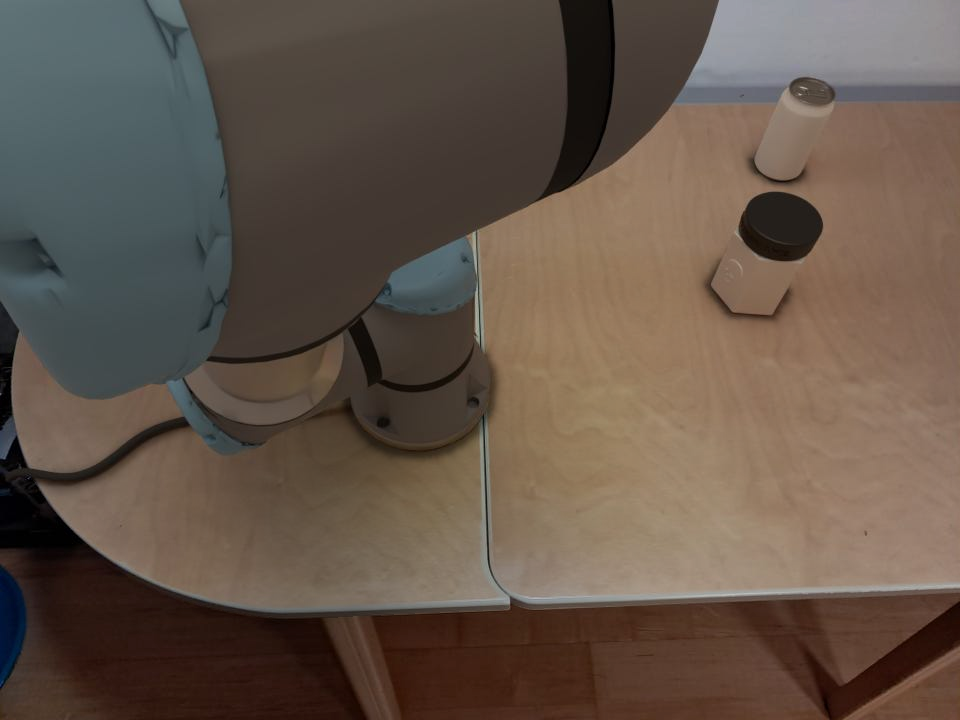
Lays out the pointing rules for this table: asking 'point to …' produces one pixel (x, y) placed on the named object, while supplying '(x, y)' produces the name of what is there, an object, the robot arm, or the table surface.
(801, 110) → the can
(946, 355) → the table surface
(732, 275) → the jar
